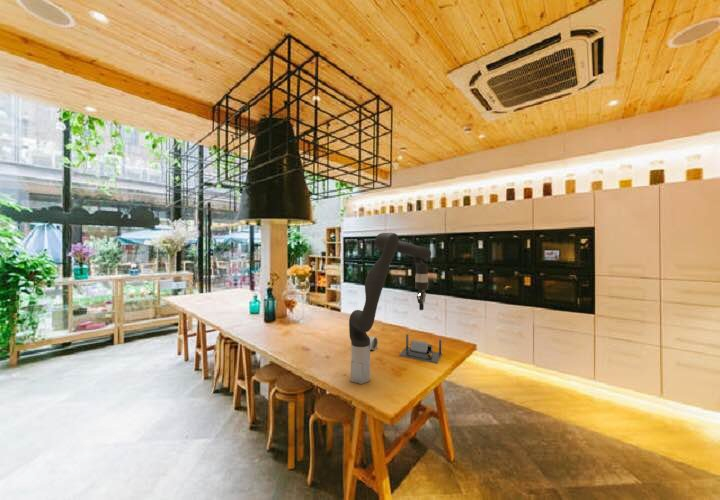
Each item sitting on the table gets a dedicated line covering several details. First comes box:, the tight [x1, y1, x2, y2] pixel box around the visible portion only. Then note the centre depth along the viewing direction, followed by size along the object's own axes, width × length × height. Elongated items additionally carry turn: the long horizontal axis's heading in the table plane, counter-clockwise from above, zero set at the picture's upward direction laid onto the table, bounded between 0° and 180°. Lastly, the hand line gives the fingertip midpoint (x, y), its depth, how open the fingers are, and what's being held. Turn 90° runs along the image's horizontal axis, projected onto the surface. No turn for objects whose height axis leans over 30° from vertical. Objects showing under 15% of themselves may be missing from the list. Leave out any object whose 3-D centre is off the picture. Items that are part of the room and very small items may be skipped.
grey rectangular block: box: [410, 339, 429, 354], centre depth 157 cm, size 3×9×8 cm, turn 64°
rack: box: [398, 334, 443, 364], centre depth 160 cm, size 14×22×9 cm, turn 63°
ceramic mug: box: [368, 335, 379, 351], centre depth 169 cm, size 11×8×8 cm
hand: (421, 309), depth 160 cm, fingers closed
